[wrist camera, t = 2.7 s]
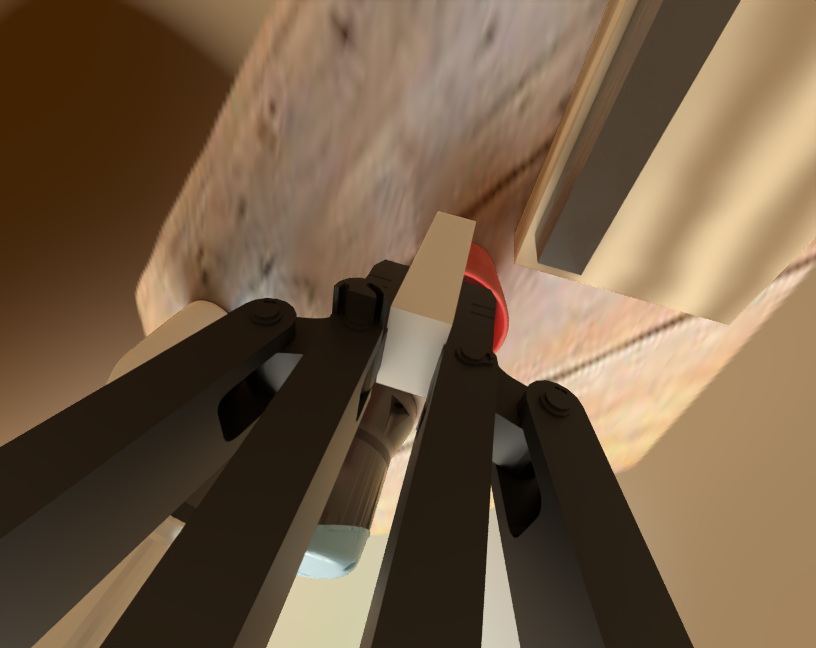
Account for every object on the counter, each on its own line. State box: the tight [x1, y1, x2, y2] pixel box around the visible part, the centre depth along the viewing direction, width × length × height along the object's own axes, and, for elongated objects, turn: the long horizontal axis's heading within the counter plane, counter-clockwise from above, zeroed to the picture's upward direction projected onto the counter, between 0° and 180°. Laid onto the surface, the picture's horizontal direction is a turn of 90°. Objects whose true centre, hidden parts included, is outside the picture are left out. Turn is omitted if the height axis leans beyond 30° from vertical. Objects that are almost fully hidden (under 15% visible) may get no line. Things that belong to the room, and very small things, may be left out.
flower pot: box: [463, 242, 509, 354], centre depth 35 cm, size 11×11×10 cm
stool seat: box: [514, 0, 816, 325], centre depth 25 cm, size 18×23×6 cm
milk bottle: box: [106, 301, 228, 385], centre depth 45 cm, size 8×8×20 cm
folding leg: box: [534, 0, 741, 275], centre depth 20 cm, size 18×4×5 cm, turn 170°
